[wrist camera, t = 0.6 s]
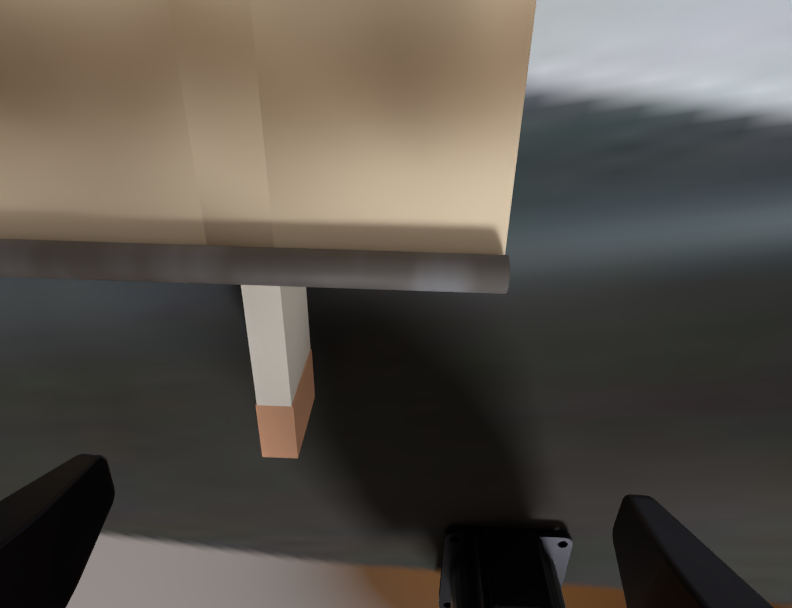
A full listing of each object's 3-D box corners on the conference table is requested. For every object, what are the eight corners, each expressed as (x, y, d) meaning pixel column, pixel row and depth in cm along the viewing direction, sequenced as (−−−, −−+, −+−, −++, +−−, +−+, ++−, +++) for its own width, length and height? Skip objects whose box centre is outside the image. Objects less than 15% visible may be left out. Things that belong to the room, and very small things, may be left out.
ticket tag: (315, 396, 23) (297, 458, 20) (284, 395, 23) (262, 456, 20) (284, -55, 15) (247, -74, 12) (238, -56, 15) (190, -76, 12)
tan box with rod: (479, 211, 20) (506, 300, 14) (105, 200, 20) (-34, 282, 14) (512, -132, 15) (577, -237, 9) (21, -139, 15) (-246, -242, 9)
